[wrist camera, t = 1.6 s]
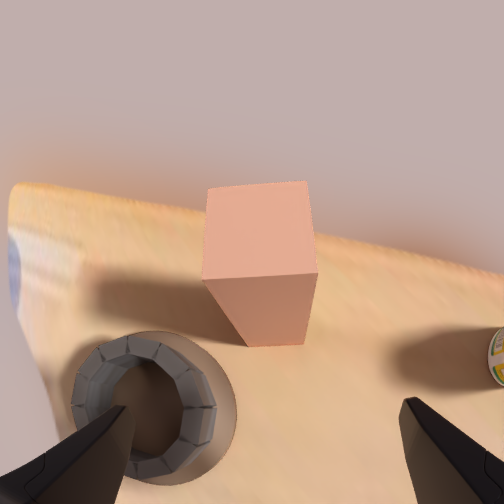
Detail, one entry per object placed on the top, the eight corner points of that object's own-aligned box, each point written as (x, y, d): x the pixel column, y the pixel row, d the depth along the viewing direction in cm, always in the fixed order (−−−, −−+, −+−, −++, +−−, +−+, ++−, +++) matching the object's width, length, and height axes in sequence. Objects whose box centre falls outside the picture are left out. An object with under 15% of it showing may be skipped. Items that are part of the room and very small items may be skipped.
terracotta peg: (303, 344, 22) (318, 272, 11) (248, 346, 22) (201, 279, 11) (300, 292, 24) (306, 180, 12) (247, 295, 24) (208, 188, 13)
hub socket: (170, 510, 17) (146, 528, 13) (70, 405, 21) (36, 401, 17) (271, 401, 20) (267, 401, 16) (153, 304, 25) (128, 284, 21)
